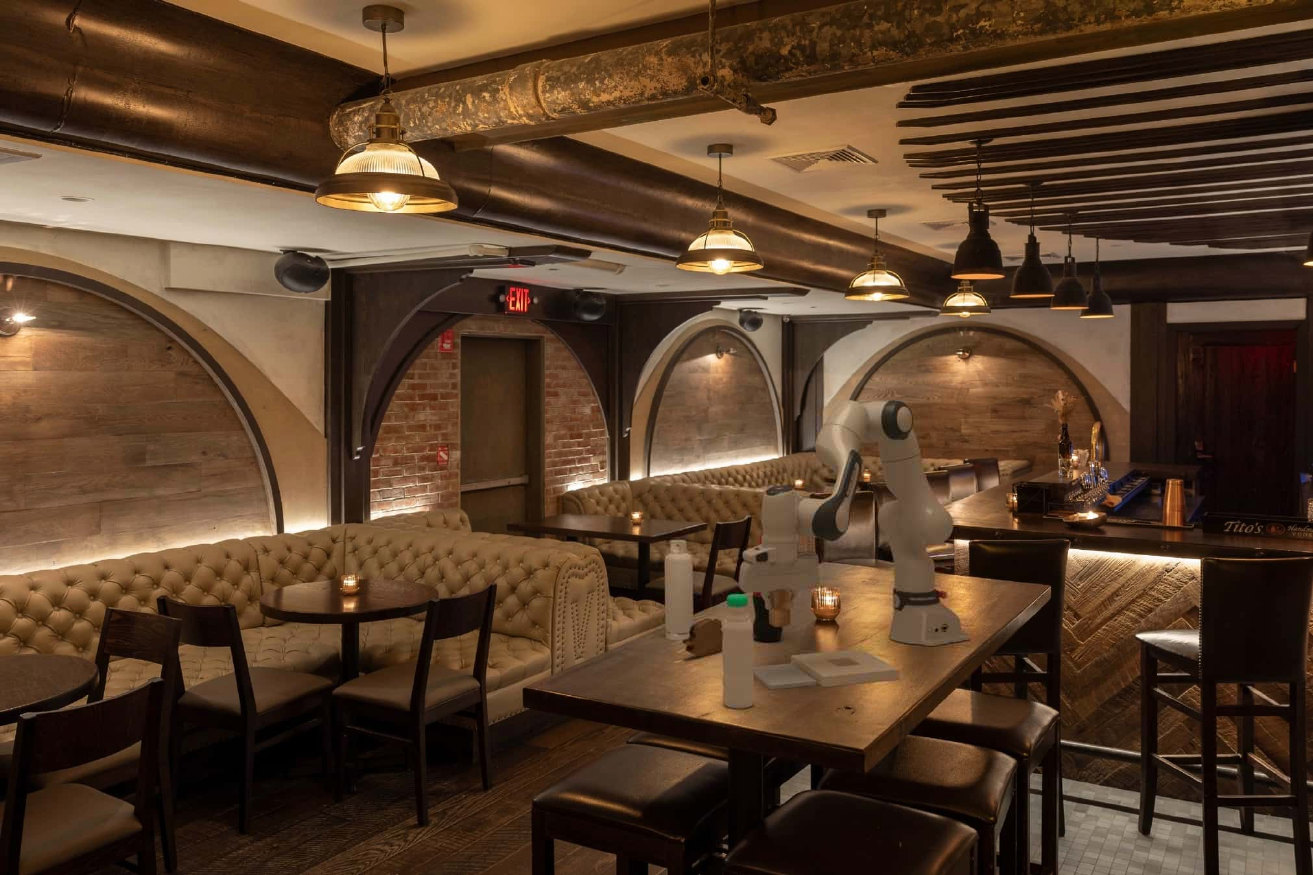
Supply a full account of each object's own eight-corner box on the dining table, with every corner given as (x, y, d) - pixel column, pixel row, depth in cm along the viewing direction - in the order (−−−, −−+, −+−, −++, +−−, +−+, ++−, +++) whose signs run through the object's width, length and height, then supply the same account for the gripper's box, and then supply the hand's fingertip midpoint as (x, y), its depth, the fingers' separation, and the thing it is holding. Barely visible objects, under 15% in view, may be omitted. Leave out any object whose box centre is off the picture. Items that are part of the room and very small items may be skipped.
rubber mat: (790, 667, 251) (790, 663, 251) (816, 684, 235) (816, 680, 235) (746, 671, 248) (746, 667, 247) (770, 689, 232) (770, 685, 232)
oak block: (784, 622, 243) (784, 586, 243) (790, 625, 239) (790, 589, 239) (769, 623, 242) (769, 587, 242) (775, 626, 238) (775, 590, 238)
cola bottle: (785, 637, 282) (784, 533, 280) (779, 644, 274) (778, 537, 272) (756, 635, 284) (755, 532, 283) (749, 642, 276) (748, 536, 275)
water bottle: (720, 700, 225) (719, 592, 224) (750, 698, 225) (749, 591, 224) (725, 710, 218) (724, 599, 217) (756, 708, 218) (755, 598, 217)
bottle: (697, 634, 285) (696, 539, 284) (686, 641, 278) (685, 543, 277) (672, 632, 289) (671, 538, 288) (661, 638, 282) (659, 542, 280)
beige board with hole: (860, 658, 258) (860, 648, 258) (899, 679, 239) (899, 669, 239) (790, 664, 253) (790, 655, 253) (824, 686, 234) (824, 676, 234)
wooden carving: (717, 647, 271) (717, 611, 271) (730, 650, 268) (730, 614, 268) (679, 660, 259) (678, 622, 259) (692, 663, 256) (691, 625, 255)
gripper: (813, 548, 246) (813, 602, 246) (736, 552, 240) (736, 608, 241) (823, 552, 240) (823, 608, 240) (745, 556, 234) (745, 613, 235)
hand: (779, 608), depth 241 cm, fingers closed on oak block, 4 cm apart
